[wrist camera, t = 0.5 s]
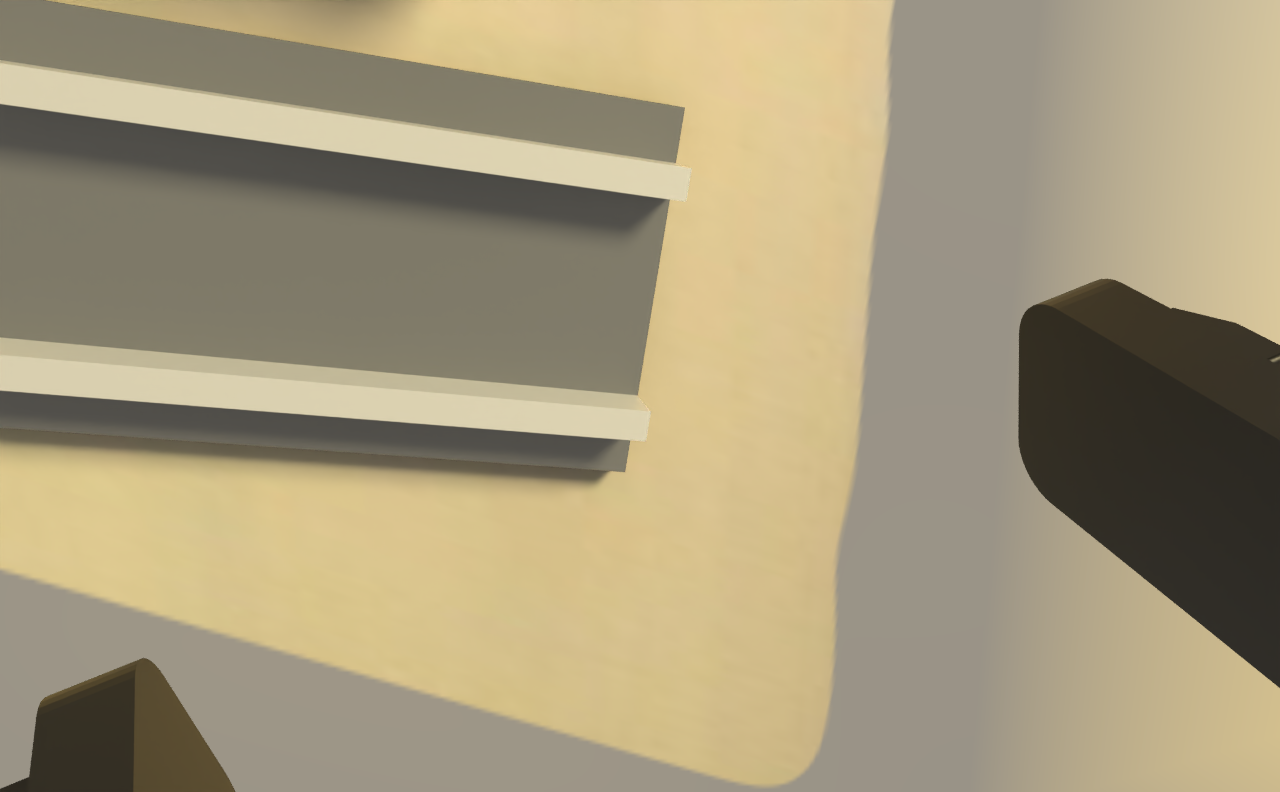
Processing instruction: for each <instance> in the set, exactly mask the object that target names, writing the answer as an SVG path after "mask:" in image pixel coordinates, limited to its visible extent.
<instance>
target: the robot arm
mask: <svg viewBox="0 0 1280 792" xmlns="http://www.w3.org/2000/svg"><path fill="white" fill-rule="evenodd" d="M1019 448H1020V453H1021V456H1022V460H1023V463H1024V465H1025V468H1026V470H1027V472H1028V474H1029V476H1030V478H1031V479H1032V481H1033V483H1034V484H1035V486H1036V487H1037V488H1038V490H1039V491H1040V492H1041V494H1042V495H1043V496H1044V497H1045V498H1046V499H1047V500H1048V501H1049V502H1050V503H1052V504H1053V505H1054V506H1055V507H1056V508H1058V509H1059V510H1060V511H1061V512H1063V513H1064V514H1065V515H1066V516H1068V517H1069V518H1070V519H1071V520H1073V521H1074V522H1075V523H1076V524H1077V525H1079V526H1080V527H1081V528H1083V529H1084V530H1085V531H1086V532H1087V533H1089V534H1090V535H1091V536H1092V537H1094V538H1095V539H1096V540H1097V541H1099V542H1100V543H1101V544H1102V545H1104V546H1105V547H1106V548H1107V549H1109V550H1110V551H1111V552H1112V553H1113V554H1115V555H1116V556H1117V557H1118V558H1120V559H1121V560H1122V561H1123V562H1125V563H1126V564H1127V565H1128V566H1129V567H1131V568H1132V569H1133V570H1134V571H1136V572H1137V573H1138V574H1140V575H1141V576H1142V577H1143V578H1144V579H1146V580H1147V581H1148V582H1149V583H1151V584H1152V585H1153V586H1154V587H1155V588H1157V589H1158V590H1159V591H1161V592H1162V593H1163V594H1164V595H1165V596H1167V597H1168V598H1169V599H1170V600H1172V601H1173V602H1174V603H1176V604H1177V605H1178V606H1179V607H1180V608H1182V609H1183V610H1184V611H1185V612H1187V613H1188V614H1189V615H1190V616H1191V617H1193V618H1194V619H1195V620H1197V621H1198V622H1199V623H1200V624H1201V625H1203V626H1204V627H1205V628H1206V629H1207V630H1209V631H1210V632H1211V633H1212V634H1214V635H1215V636H1216V637H1217V638H1219V639H1220V640H1221V641H1222V642H1224V643H1225V644H1226V645H1227V646H1229V647H1230V648H1231V649H1232V650H1233V651H1235V652H1236V653H1237V654H1238V655H1240V656H1241V657H1242V658H1244V659H1245V660H1246V661H1247V662H1248V663H1250V664H1251V665H1252V666H1253V667H1255V668H1256V669H1257V670H1258V671H1260V672H1261V673H1262V674H1263V675H1265V676H1266V677H1267V678H1268V679H1270V680H1271V681H1272V682H1273V683H1274V684H1276V685H1277V686H1278V687H1279V688H1280V345H1278V344H1276V343H1274V342H1272V341H1270V340H1268V339H1267V338H1265V337H1262V336H1260V335H1259V334H1257V333H1255V332H1253V331H1251V330H1249V329H1247V328H1245V327H1243V326H1240V325H1239V324H1236V323H1233V322H1229V321H1225V320H1221V319H1217V318H1213V317H1209V316H1205V315H1200V314H1196V313H1192V312H1188V311H1184V310H1179V309H1176V308H1172V309H1170V308H1169V307H1167V306H1165V305H1163V304H1161V303H1159V302H1157V301H1155V300H1153V299H1151V298H1149V297H1147V296H1145V295H1144V294H1142V293H1140V292H1138V291H1136V290H1134V289H1132V288H1130V287H1128V286H1126V285H1125V284H1123V283H1120V282H1118V281H1116V280H1111V279H1100V280H1097V281H1094V282H1092V283H1089V284H1086V285H1084V286H1081V287H1079V288H1076V289H1074V290H1071V291H1069V292H1066V293H1064V294H1061V295H1059V296H1057V297H1054V298H1051V299H1049V300H1046V301H1044V302H1041V303H1039V304H1036V305H1034V306H1032V307H1030V308H1029V309H1028V310H1027V311H1026V312H1025V314H1024V315H1023V317H1022V319H1021V324H1020V330H1019ZM0 792H235V790H234V788H233V786H232V784H231V782H230V780H229V778H228V777H227V775H226V773H225V772H224V770H223V768H222V767H221V765H220V764H219V762H218V761H217V759H216V757H215V756H214V754H213V753H212V751H211V750H210V748H209V746H208V745H207V743H206V742H205V740H204V739H203V737H202V736H201V734H200V732H199V731H198V729H197V728H196V726H195V724H194V723H193V721H192V720H191V718H190V717H189V715H188V714H187V712H186V710H185V709H184V707H183V706H182V704H181V703H180V701H179V699H178V698H177V696H176V694H175V693H174V691H173V690H172V688H171V687H170V685H169V684H168V682H167V680H166V679H165V677H164V676H163V674H162V673H161V671H160V670H159V669H158V668H157V666H156V665H155V664H154V663H152V662H151V661H150V660H148V659H145V658H142V659H139V660H137V661H135V662H132V663H130V664H127V665H125V666H122V667H119V668H117V669H114V670H112V671H109V672H107V673H104V674H102V675H99V676H97V677H94V678H92V679H89V680H87V681H84V682H82V683H79V684H77V685H74V686H72V687H70V688H67V689H64V690H62V691H59V692H57V693H54V694H52V695H49V696H47V697H45V698H44V699H43V700H42V701H41V703H40V705H39V708H38V711H37V717H36V726H35V733H34V742H33V750H32V758H31V767H30V775H29V777H28V778H26V779H24V780H21V781H18V782H16V783H13V784H11V785H9V786H6V787H4V788H1V789H0Z"/></svg>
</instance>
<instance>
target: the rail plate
mask: <svg viewBox="0 0 1280 792" xmlns="http://www.w3.org/2000/svg"><path fill="white" fill-rule="evenodd" d="M684 110H685V108H684V107H678V106H672V105H666V104H660V103H654V102H648V101H642V100H636V99H630V98H624V97H618V96H612V95H606V94H600V93H595V92H589V91H583V90H577V89H571V88H565V87H559V86H553V85H547V84H541V83H535V82H529V81H523V80H517V79H511V78H505V77H499V76H493V75H487V74H481V73H475V72H469V71H463V70H457V69H451V68H445V67H439V66H433V65H428V64H422V63H416V62H410V61H404V60H398V59H392V58H386V57H380V56H374V55H368V54H362V53H356V52H350V51H344V50H338V49H332V48H326V47H320V46H314V45H308V44H302V43H296V42H290V41H284V40H278V39H272V38H266V37H261V36H255V35H249V34H243V33H237V32H231V31H225V30H219V29H213V28H207V27H201V26H195V25H189V24H183V23H177V22H171V21H165V20H159V19H153V18H147V17H141V16H135V15H129V14H123V13H117V12H111V11H105V10H99V9H94V8H88V7H82V6H76V5H70V4H64V3H58V2H52V1H46V0H0V428H9V429H23V430H38V431H52V432H66V433H80V434H94V435H108V436H122V437H137V438H151V439H165V440H179V441H193V442H207V443H221V444H235V445H250V446H264V447H278V448H292V449H306V450H320V451H334V452H349V453H363V454H377V455H391V456H405V457H419V458H433V459H448V460H462V461H476V462H490V463H504V464H518V465H532V466H547V467H561V468H575V469H589V470H603V471H617V472H625V469H626V463H627V457H628V450H629V444H630V440H633V441H645V442H646V438H647V432H648V426H649V420H650V414H651V411H650V410H649V409H648V407H647V406H646V405H645V404H644V403H643V401H642V400H641V399H640V398H639V397H638V390H639V383H640V377H641V371H642V365H643V359H644V353H645V347H646V341H647V335H648V329H649V323H650V317H651V310H652V304H653V298H654V292H655V286H656V280H657V274H658V268H659V262H660V256H661V250H662V244H663V237H664V231H665V225H666V219H667V213H668V207H669V201H670V200H676V201H683V202H686V200H687V194H688V188H689V183H690V177H691V171H692V168H689V167H686V166H683V165H680V164H677V163H676V158H677V152H678V146H679V140H680V134H681V128H682V122H683V116H684Z"/></svg>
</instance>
